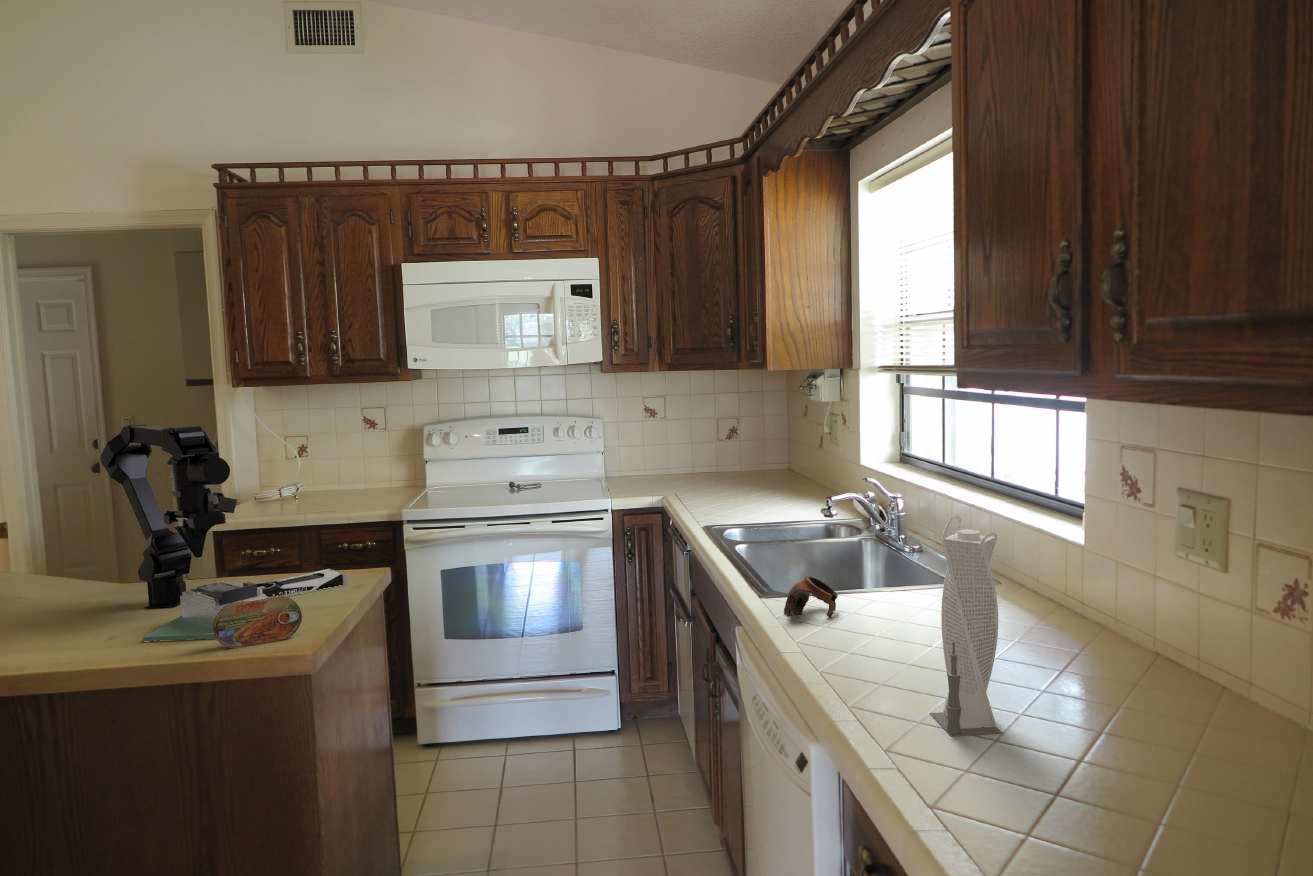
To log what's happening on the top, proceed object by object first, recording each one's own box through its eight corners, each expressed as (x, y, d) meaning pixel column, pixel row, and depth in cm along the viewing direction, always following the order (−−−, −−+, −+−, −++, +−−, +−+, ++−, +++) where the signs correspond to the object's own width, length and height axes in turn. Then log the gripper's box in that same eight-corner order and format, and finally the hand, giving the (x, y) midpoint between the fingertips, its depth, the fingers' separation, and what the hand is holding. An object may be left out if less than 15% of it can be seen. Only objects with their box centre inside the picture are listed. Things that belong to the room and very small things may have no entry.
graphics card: (346, 573, 195) (232, 595, 178) (347, 587, 195) (234, 610, 178) (330, 566, 202) (220, 587, 185) (331, 579, 202) (221, 601, 186)
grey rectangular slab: (196, 591, 169) (195, 586, 169) (216, 586, 172) (215, 582, 172) (225, 598, 161) (224, 593, 161) (245, 593, 164) (245, 588, 164)
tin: (214, 652, 150) (210, 607, 149) (214, 647, 153) (211, 603, 152) (303, 637, 157) (300, 594, 156) (302, 632, 160) (299, 590, 159)
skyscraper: (925, 711, 115) (924, 515, 113) (982, 708, 116) (982, 513, 113) (950, 738, 107) (950, 527, 104) (1010, 735, 107) (1011, 524, 105)
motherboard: (143, 642, 157) (143, 637, 157) (197, 611, 177) (196, 606, 176) (250, 637, 158) (250, 632, 158) (291, 607, 178) (291, 602, 177)
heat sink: (182, 619, 167) (178, 583, 167) (231, 607, 175) (228, 573, 174) (216, 632, 158) (213, 594, 157) (267, 618, 166) (264, 582, 165)
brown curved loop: (792, 606, 168) (812, 572, 166) (828, 634, 162) (850, 599, 161) (765, 606, 158) (786, 570, 157) (803, 636, 153) (825, 599, 151)
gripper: (247, 480, 174) (255, 553, 175) (213, 479, 186) (221, 546, 187) (190, 488, 166) (199, 564, 167) (159, 486, 178) (167, 556, 179)
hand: (198, 557), depth 175 cm, fingers closed
